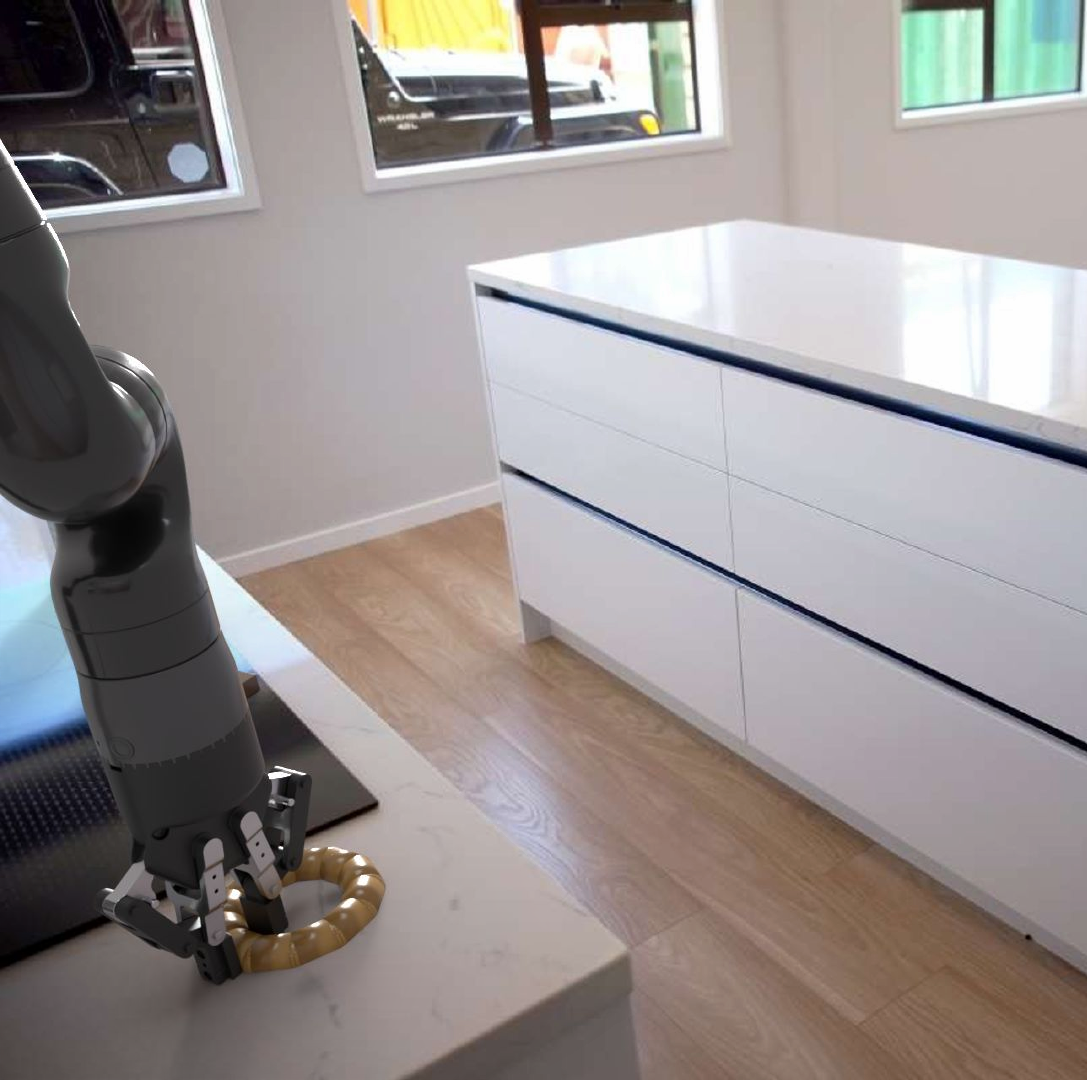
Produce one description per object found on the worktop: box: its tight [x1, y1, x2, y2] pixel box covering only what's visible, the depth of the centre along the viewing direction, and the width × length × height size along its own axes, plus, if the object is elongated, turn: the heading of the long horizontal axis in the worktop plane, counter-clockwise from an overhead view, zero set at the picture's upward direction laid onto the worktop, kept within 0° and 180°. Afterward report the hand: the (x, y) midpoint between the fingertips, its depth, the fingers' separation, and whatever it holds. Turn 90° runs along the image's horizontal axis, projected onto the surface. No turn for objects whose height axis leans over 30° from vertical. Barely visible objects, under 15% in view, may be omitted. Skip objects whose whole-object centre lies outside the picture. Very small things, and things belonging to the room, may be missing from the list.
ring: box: [223, 846, 386, 974], centre depth 76 cm, size 10×10×2 cm
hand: (249, 963), depth 73 cm, fingers closed on ring, 2 cm apart
